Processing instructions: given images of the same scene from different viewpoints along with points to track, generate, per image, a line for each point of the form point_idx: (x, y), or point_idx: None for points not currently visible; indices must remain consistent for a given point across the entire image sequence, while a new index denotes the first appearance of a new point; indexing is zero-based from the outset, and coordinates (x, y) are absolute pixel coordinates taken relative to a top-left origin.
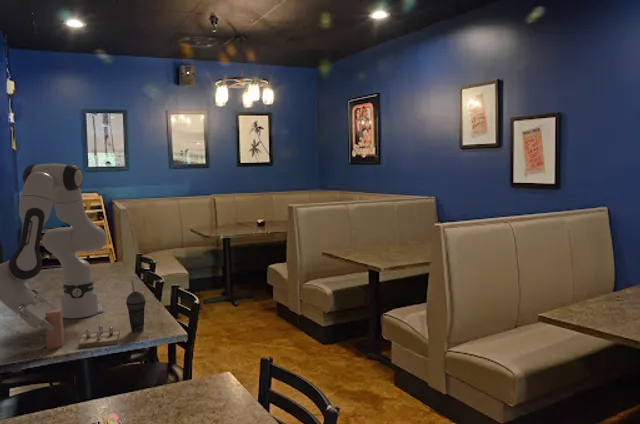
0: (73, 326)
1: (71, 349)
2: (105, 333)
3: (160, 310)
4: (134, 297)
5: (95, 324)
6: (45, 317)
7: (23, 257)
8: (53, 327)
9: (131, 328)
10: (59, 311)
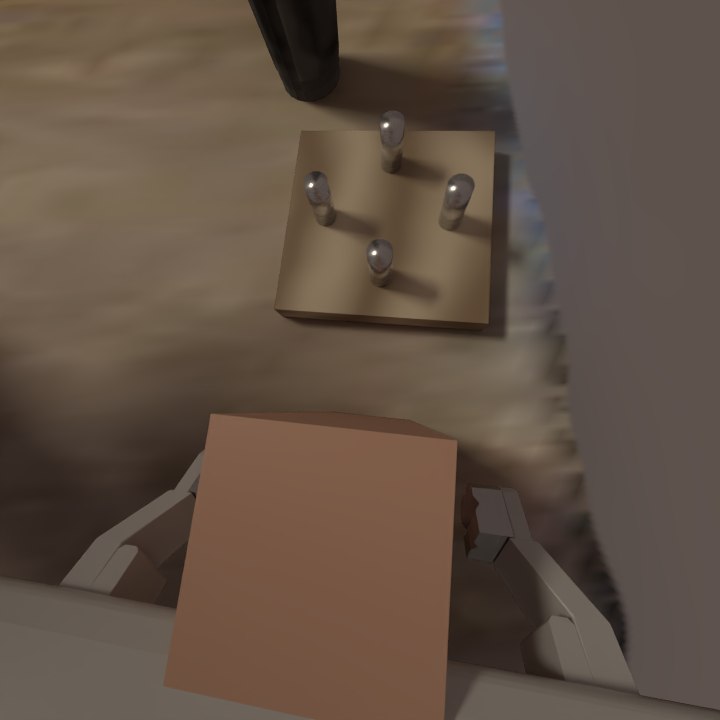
0: (41, 379)
1: (482, 368)
2: (341, 193)
3: (34, 2)
4: None
5: (77, 269)
6: (532, 675)
7: None
8: (517, 495)
9: (315, 78)
10: (430, 446)
